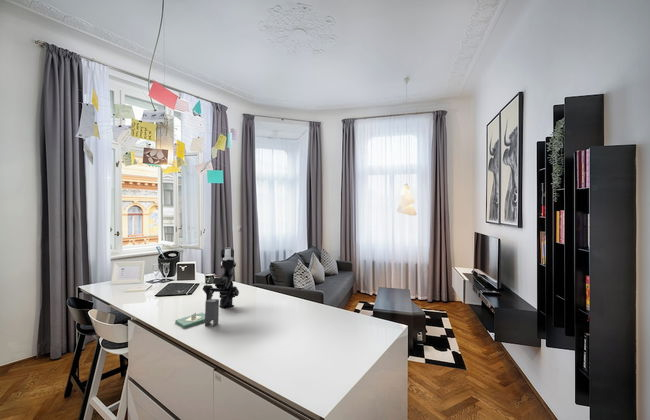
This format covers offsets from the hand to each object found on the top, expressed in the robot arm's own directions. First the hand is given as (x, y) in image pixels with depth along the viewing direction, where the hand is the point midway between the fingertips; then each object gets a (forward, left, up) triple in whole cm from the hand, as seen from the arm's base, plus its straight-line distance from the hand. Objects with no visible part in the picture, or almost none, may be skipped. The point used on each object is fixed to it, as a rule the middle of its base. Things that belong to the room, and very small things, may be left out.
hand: (214, 305), depth 137 cm
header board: (+6, -10, -9) cm, 15 cm away
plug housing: (+2, +1, -9) cm, 9 cm away
